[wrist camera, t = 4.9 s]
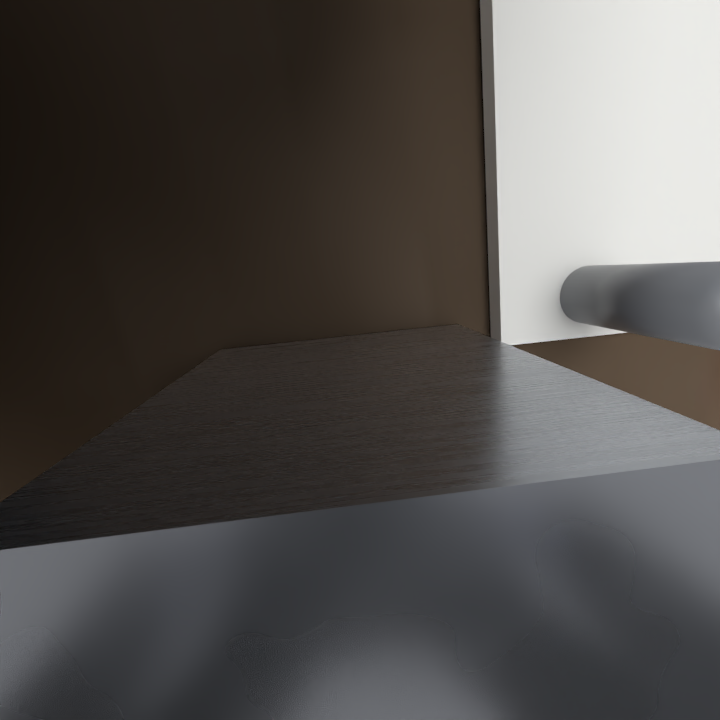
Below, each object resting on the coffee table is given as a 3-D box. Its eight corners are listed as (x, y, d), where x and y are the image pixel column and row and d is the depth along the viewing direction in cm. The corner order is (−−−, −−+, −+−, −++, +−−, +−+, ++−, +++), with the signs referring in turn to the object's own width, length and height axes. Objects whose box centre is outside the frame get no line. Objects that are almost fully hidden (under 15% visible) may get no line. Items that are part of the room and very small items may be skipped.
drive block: (473, 656, 15) (679, 1211, 6) (277, 684, 15) (196, 1315, 6) (458, 324, 12) (773, 452, 4) (220, 349, 12) (-84, 560, 3)
